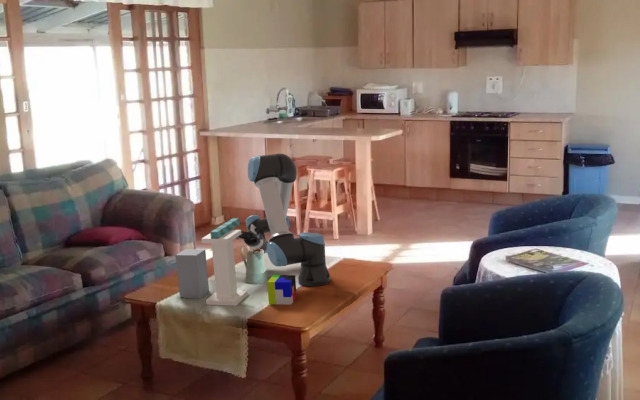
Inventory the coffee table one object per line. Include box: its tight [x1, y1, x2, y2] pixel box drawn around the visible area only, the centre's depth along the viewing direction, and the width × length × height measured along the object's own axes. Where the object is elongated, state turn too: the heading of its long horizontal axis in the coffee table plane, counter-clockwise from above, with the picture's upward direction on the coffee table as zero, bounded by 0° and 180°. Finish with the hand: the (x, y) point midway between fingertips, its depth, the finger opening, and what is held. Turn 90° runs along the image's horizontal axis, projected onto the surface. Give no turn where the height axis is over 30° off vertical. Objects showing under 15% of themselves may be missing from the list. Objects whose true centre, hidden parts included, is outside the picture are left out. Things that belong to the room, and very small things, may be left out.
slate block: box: [175, 248, 210, 299], centre depth 317 cm, size 10×10×20 cm
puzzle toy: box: [266, 274, 297, 305], centre depth 303 cm, size 10×10×10 cm
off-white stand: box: [201, 229, 249, 306], centre depth 306 cm, size 16×14×30 cm
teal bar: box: [210, 217, 240, 239], centre depth 308 cm, size 26×3×3 cm, turn 165°
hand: (237, 227), depth 323 cm, fingers open, 13 cm apart
